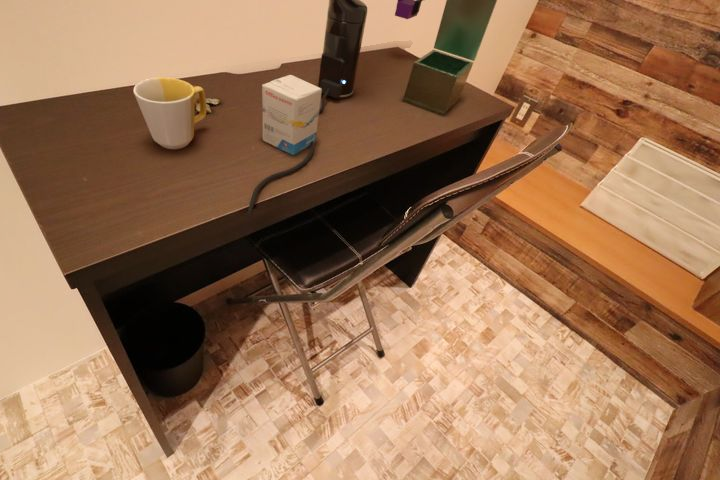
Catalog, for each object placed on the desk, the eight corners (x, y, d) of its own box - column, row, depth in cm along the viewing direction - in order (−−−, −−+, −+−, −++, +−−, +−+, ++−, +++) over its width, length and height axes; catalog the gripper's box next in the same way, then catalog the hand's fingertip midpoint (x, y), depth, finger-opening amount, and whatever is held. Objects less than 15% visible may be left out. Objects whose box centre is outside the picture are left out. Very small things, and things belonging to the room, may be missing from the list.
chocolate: (407, 19, 111) (411, 5, 108) (394, 15, 112) (397, 1, 109) (417, 15, 116) (420, 1, 113) (404, 11, 117) (407, -2, 114)
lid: (499, -7, 85) (505, -14, 87) (451, -20, 88) (458, -26, 90) (473, 61, 98) (479, 53, 100) (433, 48, 101) (440, 41, 103)
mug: (162, 161, 68) (150, 106, 60) (137, 137, 72) (122, 83, 64) (225, 142, 75) (221, 90, 67) (199, 121, 79) (192, 70, 72)
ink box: (316, 142, 79) (323, 87, 71) (292, 156, 74) (296, 99, 66) (286, 127, 82) (289, 72, 74) (261, 140, 77) (261, 83, 69)
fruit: (206, 116, 81) (204, 99, 78) (171, 108, 82) (168, 91, 79) (221, 101, 87) (220, 85, 84) (189, 93, 87) (186, 77, 84)
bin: (442, 115, 96) (457, 76, 89) (402, 100, 100) (413, 62, 92) (458, 99, 106) (473, 62, 98) (421, 85, 109) (433, 49, 102)
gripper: (396, -65, 100) (381, 8, 113) (444, -54, 96) (423, 21, 109) (406, -65, 105) (391, 5, 118) (453, -55, 101) (431, 17, 114)
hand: (406, 12), depth 113 cm, fingers closed on chocolate, 4 cm apart
